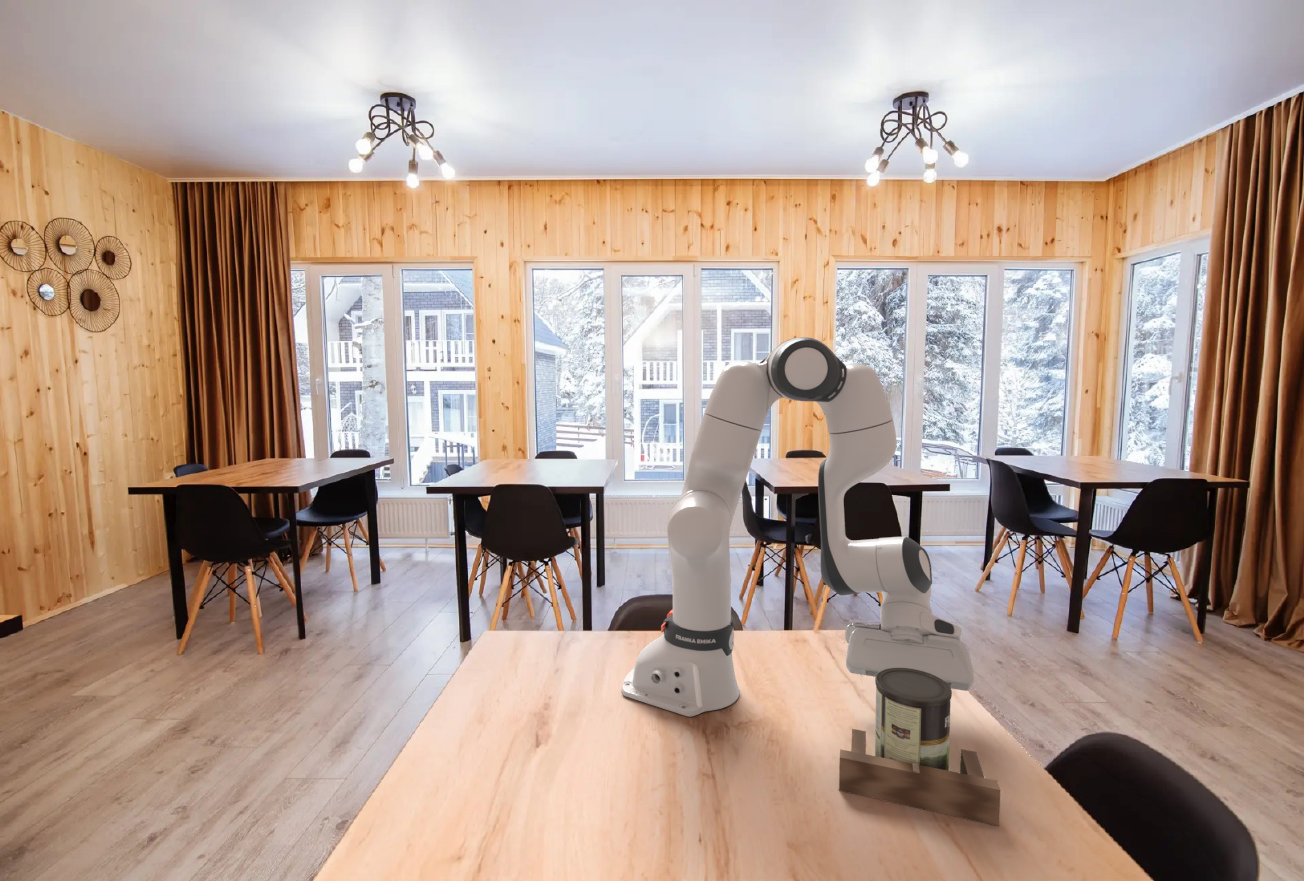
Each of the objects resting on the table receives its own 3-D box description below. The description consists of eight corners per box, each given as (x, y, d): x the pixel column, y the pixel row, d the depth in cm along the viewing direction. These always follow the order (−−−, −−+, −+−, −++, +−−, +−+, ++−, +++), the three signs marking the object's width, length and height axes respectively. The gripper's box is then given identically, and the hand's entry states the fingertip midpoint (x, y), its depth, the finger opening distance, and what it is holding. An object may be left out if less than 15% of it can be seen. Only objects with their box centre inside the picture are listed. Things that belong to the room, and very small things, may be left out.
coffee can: (940, 758, 89) (943, 671, 88) (956, 803, 79) (959, 706, 78) (870, 747, 92) (872, 663, 91) (876, 790, 82) (879, 696, 81)
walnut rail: (839, 790, 82) (839, 756, 82) (841, 757, 90) (841, 725, 89) (999, 826, 75) (1000, 788, 75) (987, 787, 82) (988, 752, 82)
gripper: (845, 613, 105) (842, 689, 97) (971, 628, 98) (979, 712, 90) (846, 627, 110) (843, 701, 102) (966, 642, 103) (973, 724, 94)
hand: (908, 707), depth 96 cm, fingers closed
